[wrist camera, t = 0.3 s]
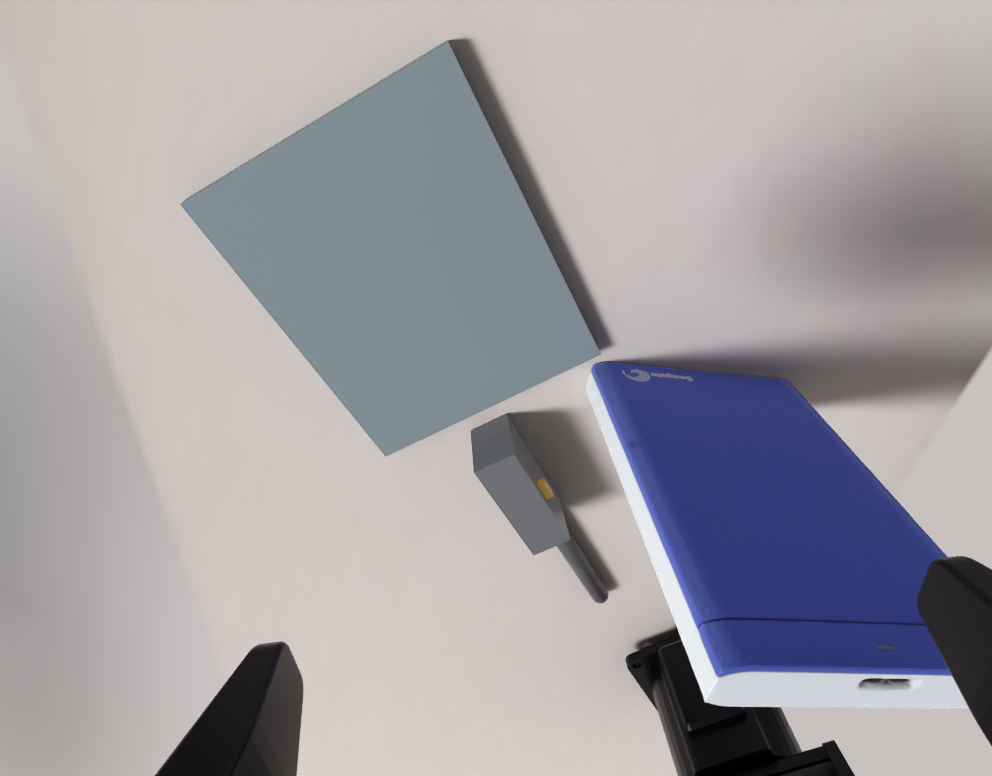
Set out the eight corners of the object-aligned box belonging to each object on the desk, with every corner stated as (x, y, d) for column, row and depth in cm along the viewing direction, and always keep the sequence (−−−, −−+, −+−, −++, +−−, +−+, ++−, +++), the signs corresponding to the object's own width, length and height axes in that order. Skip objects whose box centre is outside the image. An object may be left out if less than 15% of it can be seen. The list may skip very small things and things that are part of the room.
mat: (597, 346, 23) (600, 354, 22) (386, 446, 24) (385, 456, 24) (447, 40, 17) (448, 41, 16) (186, 198, 19) (180, 204, 18)
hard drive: (592, 359, 23) (725, 664, 12) (794, 378, 24) (1066, 671, 14) (583, 394, 24) (699, 708, 13) (778, 411, 25) (1024, 711, 15)
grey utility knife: (621, 584, 30) (635, 628, 28) (585, 598, 30) (597, 643, 28) (514, 410, 24) (521, 450, 22) (470, 431, 24) (474, 472, 22)
